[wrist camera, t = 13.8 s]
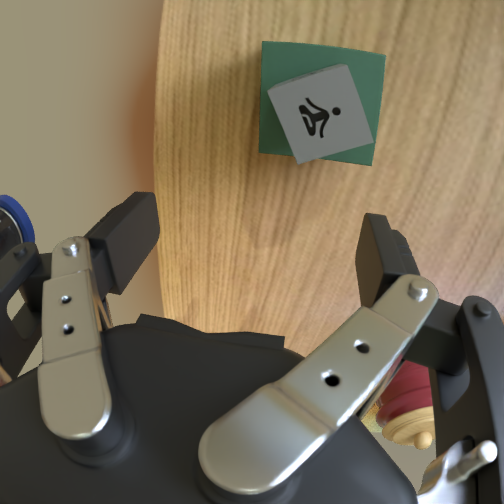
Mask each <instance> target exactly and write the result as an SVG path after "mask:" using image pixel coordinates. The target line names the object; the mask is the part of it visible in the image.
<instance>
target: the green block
mask: <svg viewBox="0 0 504 504" xmlns="http://www.w3.org/2000/svg"><path fill="white" fill-rule="evenodd" d="M385 60H386V55H382V54H377V53H372V52H366V51H360V50H354V49H348V48H341V47H333V46H325V45H315V44H305V43H292V42H273V41H262V58H261V92H260V125H259V153H266V154H278V155H288V156H294V154H293V152H292V149H291V147H290V144H289V142H288V139H287V137H286V134H285V132H284V130H283V127H282V125H281V122H280V120H279V118H278V115H277V113H276V111H275V108H274V106H273V104H272V102H271V99H270V97H269V95H268V92H267V91H268V90H269V89H270V88H272V87H273V86H274V85H276V84H278V83H281V82H284V81H287V80H290V79H292V78H295V77H298V76H301V75H304V74H307V73H310V72H314V71H317V70H320V69H323V68H326V67H330V66H333V65H337V64H345V65H347V66H348V68H349V71H350V73H351V76H352V79H353V81H354V84H355V87H356V89H357V92H358V95H359V98H360V101H361V104H362V107H363V110H364V113H365V116H366V119H367V122H368V125H369V128H370V131H371V135H372V138H373V141H374V143H370V144H366V145H363V146H359V147H356V148H352V149H348V150H345V151H341V152H338V153H335V154H331V155H328V156H324V157H321V158H318V159H324V160H332V161H339V162H347V163H353V164H360V165H367V166H372V161H373V155H374V149H375V143H376V136H377V129H378V122H379V115H380V107H381V99H382V91H383V81H384V71H385Z"/></svg>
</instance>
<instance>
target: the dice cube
mask: <svg viewBox="0 0 504 504" xmlns="http://www.w3.org/2000/svg"><path fill="white" fill-rule="evenodd" d="M267 92H268V95H269V97H270V99H271V102H272V104H273V106H274V108H275V111H276V113H277V115H278V118H279V120H280V122H281V125H282V127H283V130H284V132H285V134H286V137H287V139H288V142H289V144H290V147H291V149H292V152H293V154H294V157H295V159H296V162H297V164H301V163H305V162H308V161H311V160H314V159H318V158H321V157H324V156H328V155H331V154H335V153H338V152H341V151H345V150H348V149H352V148H356V147H359V146H363V145H366V144H370V143H374V141H373V138H372V135H371V131H370V128H369V125H368V122H367V119H366V116H365V113H364V110H363V107H362V104H361V101H360V98H359V95H358V92H357V89H356V87H355V84H354V81H353V79H352V76H351V73H350V71H349V68H348V66H347V65H345V64H337V65H333V66H330V67H326V68H323V69H320V70H317V71H314V72H310V73H307V74H304V75H301V76H298V77H295V78H292V79H290V80H287V81H284V82H281V83H278V84H276V85H274V86H273V87H272V88H270V89H269V90H268V91H267Z"/></svg>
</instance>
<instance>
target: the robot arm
mask: <svg viewBox="0 0 504 504" xmlns="http://www.w3.org/2000/svg"><path fill="white" fill-rule="evenodd" d="M159 234H160V225H159V218H158V211H157V203H156V197H155V194H154V193H152V192H134V193H133V194H132V195H131V196H130V197H128V198H127V199H126V200H125V201H124V202H123V203H121V204H120V205H118V206H116V207H114V208H112V209H111V210H110V211H109V212H108V213H107V214H106V215H105V216H104V217H103V218H102V219H101V220H100V222H98V223H97V224H96V225H95V226H94V227H93V228H92V229H91V230H90V231H89V232H88V233H87V234H86V235H85V236H84V237H80V236H76V237H70V238H67V239H65V240H63V241H61V242H60V243H58V244H57V245H56V246H55V248H54V249H53V252H52V253H45V254H39V252H38V249H37V246H36V244H35V243H33V242H24V237H23V233H22V230H21V228H20V225H19V224H18V222H17V220H16V219H15V217H14V216H13V215H12V214H11V213H10V212H9V211H8V210H7V209H6V208H4V207H2V206H0V504H504V325H503V323H502V320H501V318H500V315H499V313H498V311H497V309H496V308H495V307H494V306H493V305H492V304H491V303H490V302H489V301H488V300H486V299H484V298H482V297H479V296H468V297H466V298H465V299H464V301H463V303H462V305H461V306H458V305H455V304H452V303H449V302H446V301H444V300H441V299H439V293H438V290H437V288H436V287H435V285H434V284H433V283H431V282H430V281H429V280H427V279H426V278H424V277H421V276H420V273H419V270H418V268H417V265H416V263H415V260H414V257H413V256H412V253H411V250H410V249H409V245H408V243H407V240H406V238H405V237H404V236H403V235H402V234H401V233H400V232H399V231H398V230H392V229H391V228H390V225H389V223H388V220H387V218H386V216H385V215H379V214H371V213H366V214H365V215H364V219H363V223H362V228H361V232H360V237H359V241H358V245H357V250H356V258H355V265H356V272H357V279H358V286H359V293H360V301H361V307H360V308H359V309H358V310H357V311H356V312H355V313H354V314H353V315H352V316H351V317H350V318H349V319H347V320H346V321H345V322H344V323H343V324H342V325H341V326H340V327H339V328H338V329H337V330H336V331H335V332H334V333H333V334H332V335H330V336H329V337H328V338H327V339H326V340H325V341H324V342H323V343H322V344H321V345H319V346H318V347H317V348H316V349H315V350H314V351H313V352H312V353H310V354H309V355H308V356H307V357H306V358H305V357H303V356H301V355H300V354H298V353H296V352H294V351H291V350H289V349H286V348H283V347H284V340H285V336H277V335H269V334H261V333H254V332H229V333H204V332H201V331H199V330H197V329H194V328H192V327H189V326H187V325H184V324H182V323H180V322H177V321H175V320H172V319H167V318H161V317H156V316H151V315H146V314H140V316H139V318H138V320H137V321H136V323H134V324H124V325H119V326H115V327H113V323H112V319H111V315H110V310H109V306H108V302H107V299H106V295H107V293H113V294H118V295H121V294H122V292H123V291H124V289H125V288H126V286H127V285H128V283H129V282H130V280H131V279H132V277H133V276H134V274H135V273H136V272H137V270H138V269H139V267H140V266H141V264H142V263H143V261H144V260H145V259H146V257H147V256H148V254H149V253H150V251H151V250H152V249H153V247H154V246H155V244H156V243H157V241H158V239H159ZM18 289H19V291H20V293H21V295H22V297H23V299H24V301H25V303H24V305H23V306H22V307H21V309H20V310H19V311H18V313H17V314H16V316H15V317H14V319H13V320H12V321H11V320H10V318H9V316H8V314H7V304H8V301H9V300H10V299H11V297H12V296H13V295H14V294H15V292H16V291H17V290H18ZM41 336H42V363H41V364H39V366H38V367H36V368H34V369H33V370H30V371H29V372H27V373H25V374H23V375H21V376H19V377H18V375H19V373H20V371H21V370H22V368H23V366H24V364H25V363H26V361H27V359H28V358H29V356H30V354H31V353H32V351H33V349H34V348H35V346H36V345H37V343H38V341H39V340H40V338H41ZM406 360H407V361H410V362H413V363H416V364H419V365H422V366H425V367H428V372H429V380H430V387H431V395H432V404H433V414H434V426H435V440H436V459H435V460H433V461H432V462H431V463H430V464H429V465H428V466H427V468H426V470H425V472H424V475H423V480H422V485H421V488H420V490H419V492H418V494H416V491H415V489H414V487H413V485H412V484H411V482H410V481H409V479H408V478H407V477H406V476H405V474H404V473H403V472H402V471H401V470H400V468H399V467H398V466H397V465H396V463H395V462H394V461H393V460H392V459H391V457H390V456H389V455H388V454H387V453H386V451H385V450H384V449H383V448H382V447H381V445H380V444H379V443H378V442H377V440H376V439H375V438H374V437H373V435H372V434H371V433H370V432H369V430H368V429H367V428H366V427H365V426H364V424H363V423H362V422H361V420H362V419H363V418H364V416H365V415H366V414H367V413H368V411H369V410H370V409H371V407H372V406H373V404H374V403H375V402H376V400H377V399H378V398H379V396H380V395H381V394H382V393H383V391H384V390H385V389H386V387H387V386H388V385H389V383H390V382H391V381H392V379H393V378H394V377H395V375H396V374H397V372H398V371H399V370H400V368H401V367H402V365H403V364H404V363H405V361H406ZM17 377H18V378H17Z"/></svg>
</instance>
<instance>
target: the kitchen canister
mask: <svg viewBox="0 0 504 504" xmlns="http://www.w3.org/2000/svg"><path fill="white" fill-rule="evenodd" d="M376 404H377V406H378V407H379V411H378V412H377V414H376V422H377V424H378V425H379V426H380V427H382V428H383V430H382V435H383V436H384V438H386V439H388V440H390V441H393V442H395V443H397V444H400V445H414V446H415V447H416V448H417V449H419V450H423V449H426V448H427V447H429V446H430V444H431V442H432V440H435V426H434V414H433V404H432V395H431V387H430V380H429V372H428V367H425V366H422V365H419V364H416V363H413V362H410V361H407V360H406V361H405V363H404V364H403V365H402V367H401V368H400V370H399V371H398V372H397V374H396V375H395V377H394V378H393V379H392V381H391V382H390V383H389V385H388V386H387V387H386V389H385V390H384V391H383V393H382V394H381V395H380V396H379V398H378V399H377V400H376Z"/></svg>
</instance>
